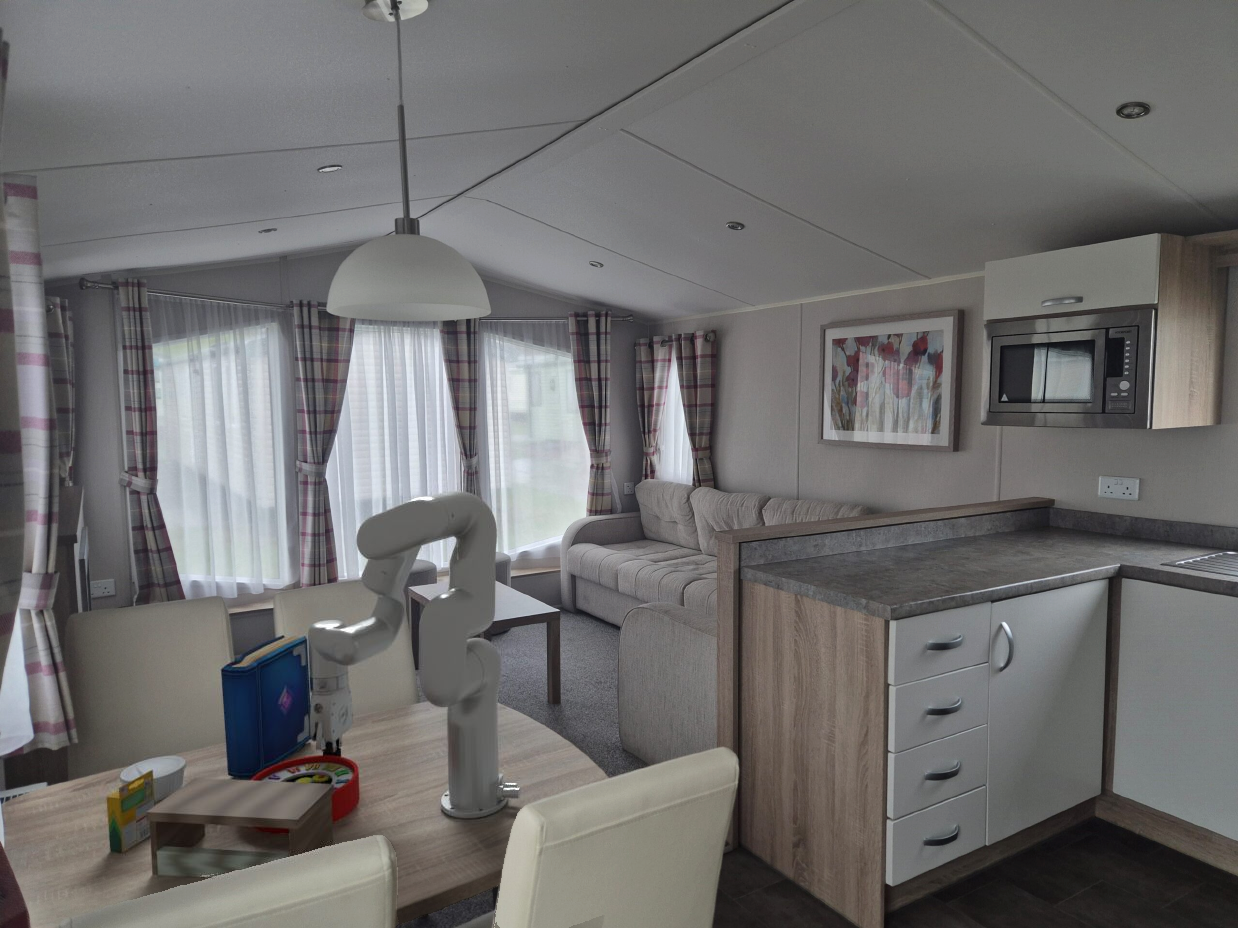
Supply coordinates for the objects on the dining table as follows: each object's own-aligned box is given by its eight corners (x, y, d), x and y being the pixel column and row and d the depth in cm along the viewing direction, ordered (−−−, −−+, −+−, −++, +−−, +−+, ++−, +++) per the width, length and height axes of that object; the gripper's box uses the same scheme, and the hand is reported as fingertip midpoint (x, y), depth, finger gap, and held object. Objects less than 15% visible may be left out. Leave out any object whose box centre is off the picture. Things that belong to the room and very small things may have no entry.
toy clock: (340, 746, 163) (373, 781, 147) (341, 773, 163) (374, 811, 147) (235, 773, 151) (259, 815, 135) (237, 803, 151) (260, 847, 135)
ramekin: (107, 804, 151) (105, 777, 151) (153, 778, 162) (152, 753, 162) (155, 809, 149) (154, 783, 148) (199, 782, 159) (198, 757, 159)
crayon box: (143, 829, 141) (140, 767, 141) (157, 831, 141) (154, 768, 140) (108, 851, 134) (105, 786, 133) (122, 853, 133) (119, 787, 133)
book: (251, 784, 158) (246, 664, 157) (221, 782, 160) (215, 662, 158) (313, 741, 179) (310, 634, 178) (286, 739, 181) (282, 632, 179)
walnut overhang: (335, 842, 136) (333, 783, 136) (300, 883, 124) (297, 819, 124) (197, 834, 139) (194, 777, 139) (149, 874, 127) (146, 811, 127)
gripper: (328, 694, 153) (332, 785, 154) (362, 670, 168) (365, 753, 169) (292, 693, 154) (296, 783, 155) (329, 669, 169) (332, 751, 170)
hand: (332, 767), depth 162 cm, fingers closed
